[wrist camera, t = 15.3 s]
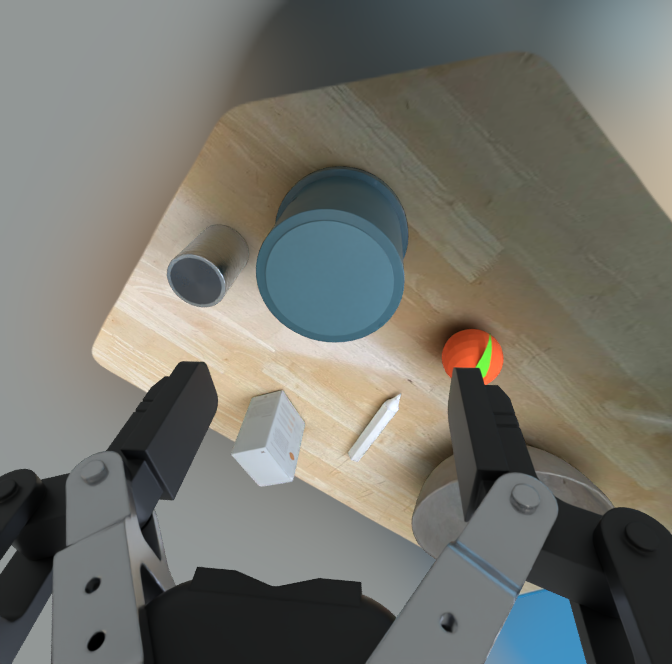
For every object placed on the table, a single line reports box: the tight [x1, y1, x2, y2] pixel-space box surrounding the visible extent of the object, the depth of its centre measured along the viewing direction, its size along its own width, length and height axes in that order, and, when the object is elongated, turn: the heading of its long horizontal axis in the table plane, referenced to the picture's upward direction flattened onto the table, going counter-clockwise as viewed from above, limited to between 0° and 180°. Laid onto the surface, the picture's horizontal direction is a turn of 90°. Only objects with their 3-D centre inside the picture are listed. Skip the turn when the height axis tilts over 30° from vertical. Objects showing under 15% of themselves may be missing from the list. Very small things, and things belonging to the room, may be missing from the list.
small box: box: [231, 390, 305, 486], centre depth 56 cm, size 8×6×10 cm
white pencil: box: [348, 393, 401, 462], centre depth 58 cm, size 3×2×16 cm
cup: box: [167, 225, 249, 307], centre depth 42 cm, size 6×6×8 cm
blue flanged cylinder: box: [256, 166, 408, 342], centre depth 38 cm, size 14×14×11 cm
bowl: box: [412, 445, 614, 559], centre depth 59 cm, size 28×28×10 cm
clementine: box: [442, 329, 503, 385], centre depth 45 cm, size 8×7×7 cm
